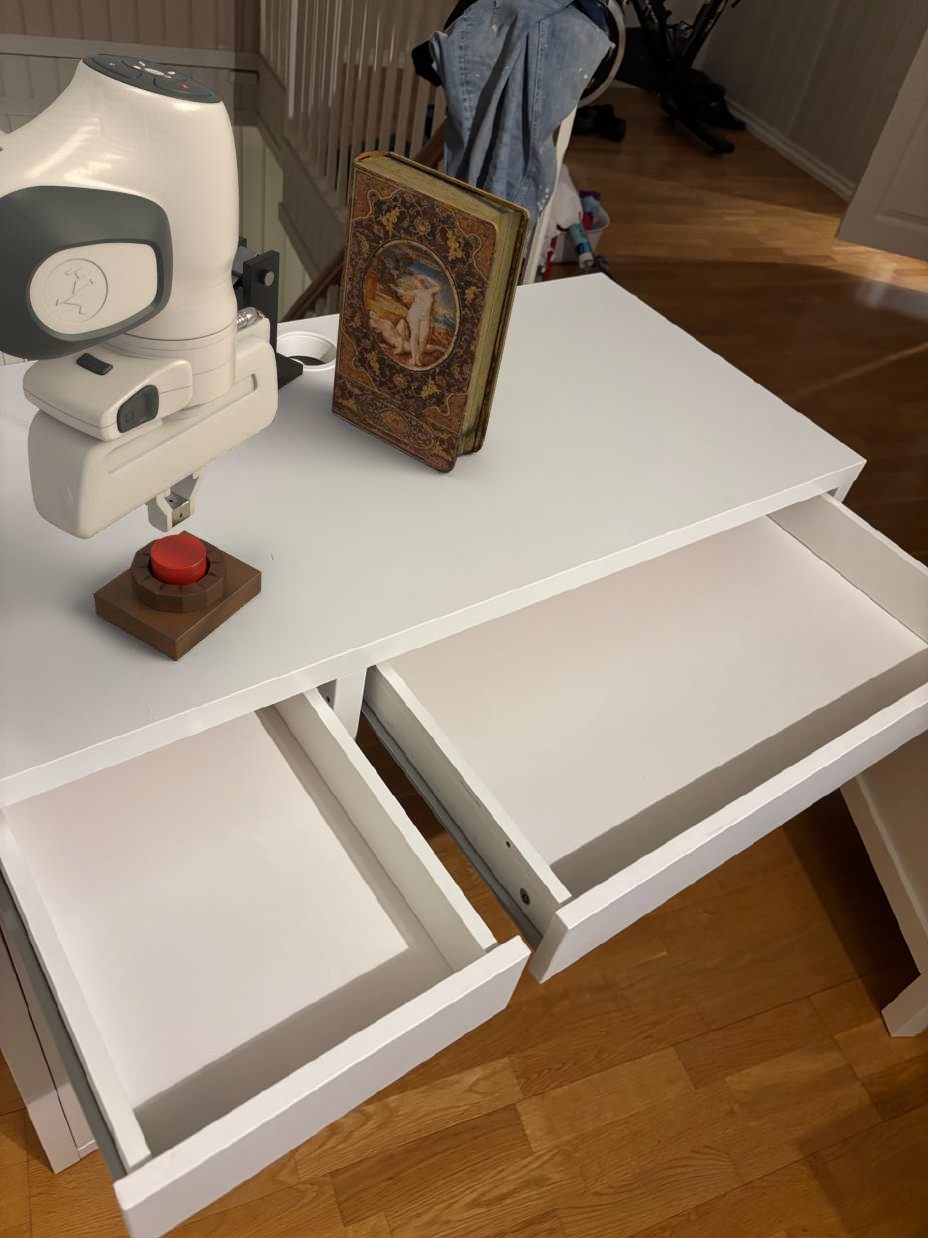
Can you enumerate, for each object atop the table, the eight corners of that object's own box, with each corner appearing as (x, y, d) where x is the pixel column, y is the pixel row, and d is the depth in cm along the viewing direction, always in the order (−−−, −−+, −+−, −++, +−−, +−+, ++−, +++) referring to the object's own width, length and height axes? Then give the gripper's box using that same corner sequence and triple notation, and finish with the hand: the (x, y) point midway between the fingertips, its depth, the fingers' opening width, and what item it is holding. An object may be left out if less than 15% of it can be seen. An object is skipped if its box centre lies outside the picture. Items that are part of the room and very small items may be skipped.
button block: (176, 661, 70) (174, 623, 68) (95, 614, 72) (90, 575, 70) (261, 591, 77) (262, 554, 75) (185, 549, 79) (183, 512, 77)
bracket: (243, 410, 96) (244, 280, 86) (182, 380, 98) (176, 249, 88) (303, 373, 102) (309, 249, 93) (244, 346, 104) (245, 222, 95)
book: (323, 408, 98) (341, 157, 81) (356, 390, 102) (380, 146, 85) (451, 478, 93) (499, 226, 76) (481, 456, 97) (534, 211, 80)
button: (181, 593, 71) (180, 575, 69) (140, 570, 72) (139, 552, 70) (217, 566, 73) (216, 549, 72) (177, 544, 74) (176, 527, 73)
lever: (195, 376, 90) (181, 352, 86) (165, 362, 91) (150, 338, 87) (272, 277, 93) (262, 250, 90) (243, 264, 94) (232, 237, 91)
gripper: (232, 283, 68) (230, 445, 77) (-3, 386, 53) (29, 570, 63) (304, 315, 66) (293, 476, 75) (81, 431, 52) (101, 612, 61)
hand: (171, 520), depth 69 cm, fingers closed
